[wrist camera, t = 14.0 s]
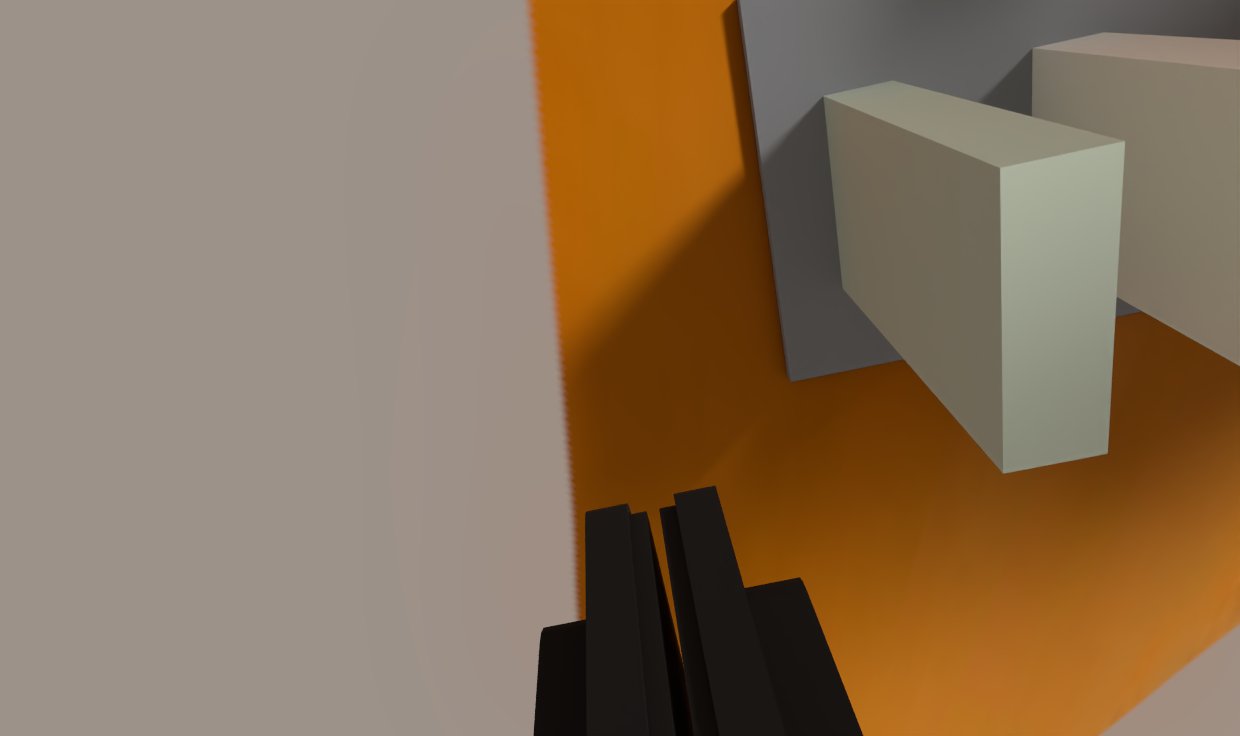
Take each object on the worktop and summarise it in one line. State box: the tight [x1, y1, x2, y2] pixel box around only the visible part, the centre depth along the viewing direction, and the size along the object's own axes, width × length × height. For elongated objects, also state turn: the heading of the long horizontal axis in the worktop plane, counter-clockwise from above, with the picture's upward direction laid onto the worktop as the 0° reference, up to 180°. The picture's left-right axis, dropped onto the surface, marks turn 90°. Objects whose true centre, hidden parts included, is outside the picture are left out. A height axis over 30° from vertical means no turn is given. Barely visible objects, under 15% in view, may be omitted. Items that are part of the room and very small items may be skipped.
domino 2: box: [1032, 32, 1240, 366], centre depth 19 cm, size 2×6×11 cm, turn 12°
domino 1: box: [823, 80, 1125, 474], centre depth 19 cm, size 2×6×11 cm, turn 12°
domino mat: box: [737, 0, 1240, 382], centre depth 24 cm, size 25×12×1 cm, turn 102°
